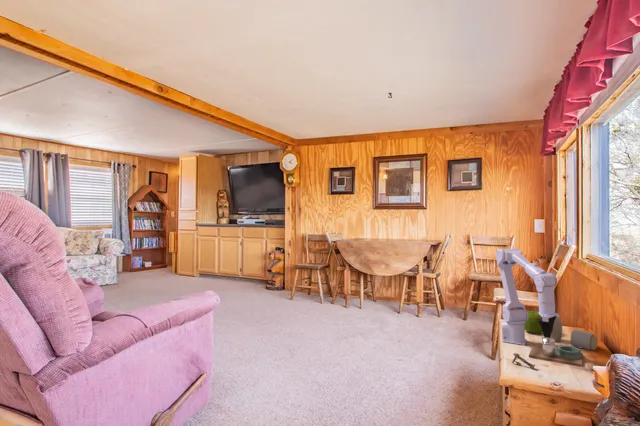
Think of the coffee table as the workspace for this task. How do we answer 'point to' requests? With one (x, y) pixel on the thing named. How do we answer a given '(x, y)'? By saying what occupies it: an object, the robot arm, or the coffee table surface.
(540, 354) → the board
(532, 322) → the apple
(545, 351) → the clear glass jar
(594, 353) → the coffee table surface
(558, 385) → the coffee table surface
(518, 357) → the wooden post with brackets
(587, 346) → the grey cylinder
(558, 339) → the carving
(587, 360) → the coffee table surface
